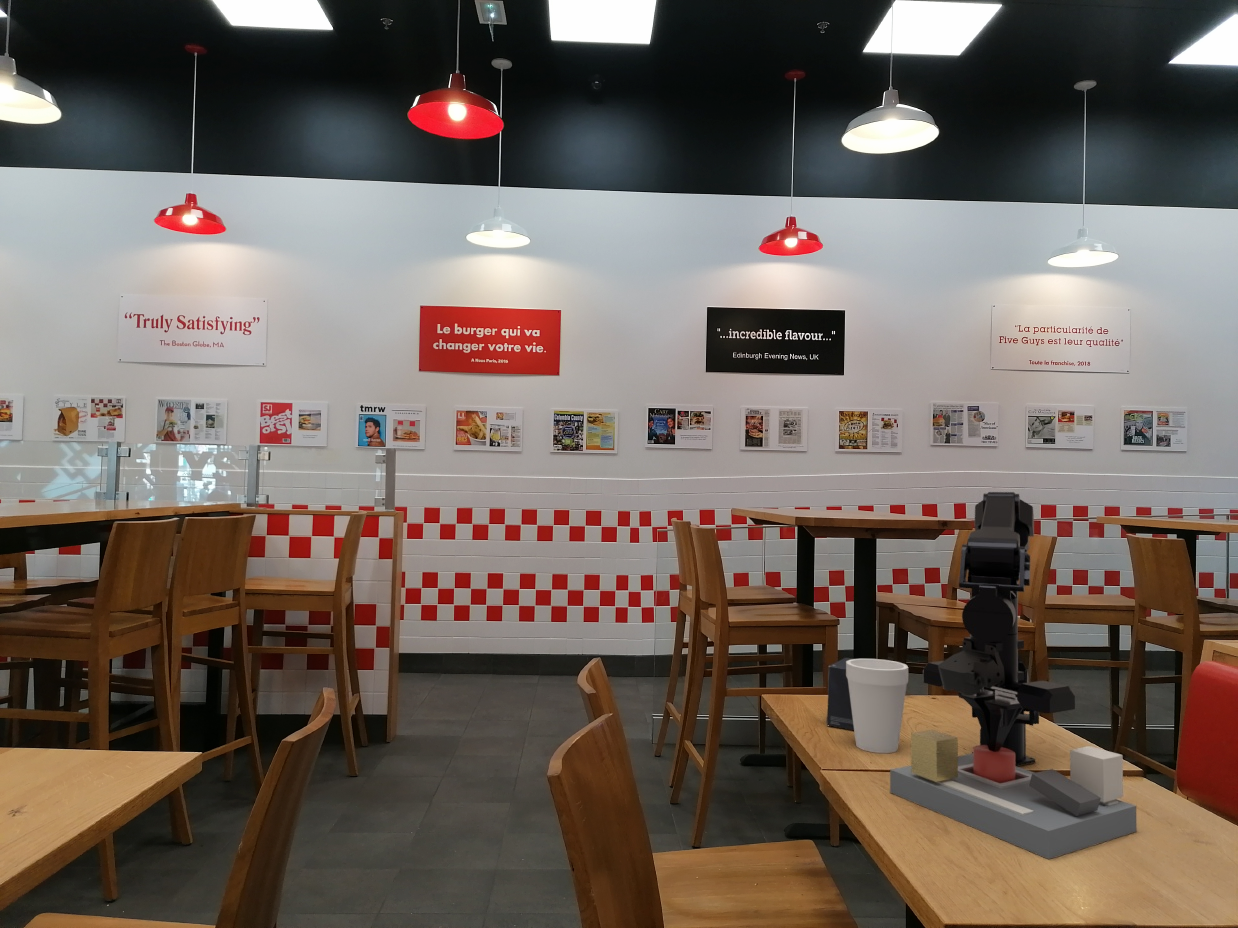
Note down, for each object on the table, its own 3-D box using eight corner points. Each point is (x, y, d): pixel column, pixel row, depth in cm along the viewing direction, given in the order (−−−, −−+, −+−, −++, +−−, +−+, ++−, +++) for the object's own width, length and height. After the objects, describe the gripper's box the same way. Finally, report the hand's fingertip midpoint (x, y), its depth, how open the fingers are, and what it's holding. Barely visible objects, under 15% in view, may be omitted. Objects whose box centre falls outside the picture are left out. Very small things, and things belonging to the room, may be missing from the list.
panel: (974, 774, 112) (974, 750, 113) (1136, 831, 93) (1136, 802, 93) (890, 792, 104) (890, 767, 105) (1048, 859, 85) (1048, 828, 85)
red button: (989, 785, 106) (989, 743, 107) (1024, 798, 102) (1023, 753, 102) (965, 791, 104) (965, 747, 104) (999, 804, 100) (999, 758, 100)
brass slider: (932, 767, 104) (932, 729, 104) (957, 777, 101) (957, 737, 101) (910, 771, 102) (911, 732, 102) (936, 781, 99) (936, 741, 99)
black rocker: (1049, 780, 96) (1052, 768, 96) (1097, 809, 91) (1100, 797, 91) (1028, 785, 94) (1032, 773, 94) (1076, 815, 89) (1080, 803, 89)
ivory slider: (1089, 786, 98) (1089, 745, 98) (1123, 796, 95) (1122, 754, 95) (1070, 791, 96) (1070, 749, 97) (1103, 802, 93) (1103, 759, 93)
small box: (863, 733, 132) (864, 670, 133) (825, 726, 136) (826, 665, 136) (879, 719, 141) (879, 660, 142) (843, 713, 145) (843, 656, 145)
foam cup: (912, 758, 119) (912, 671, 120) (849, 753, 121) (849, 668, 122) (902, 740, 128) (902, 660, 129) (844, 736, 130) (844, 657, 131)
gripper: (895, 624, 109) (895, 739, 108) (1020, 647, 92) (1021, 782, 91) (949, 620, 114) (949, 729, 113) (1077, 641, 98) (1078, 768, 97)
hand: (994, 750), depth 103 cm, fingers closed, pressing on red button
